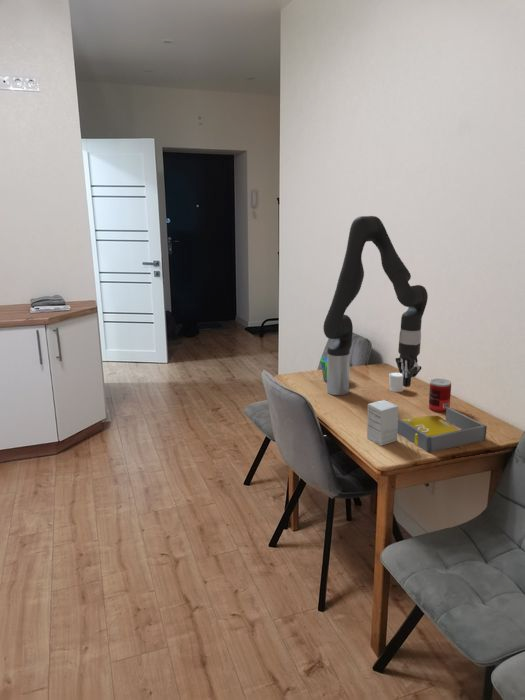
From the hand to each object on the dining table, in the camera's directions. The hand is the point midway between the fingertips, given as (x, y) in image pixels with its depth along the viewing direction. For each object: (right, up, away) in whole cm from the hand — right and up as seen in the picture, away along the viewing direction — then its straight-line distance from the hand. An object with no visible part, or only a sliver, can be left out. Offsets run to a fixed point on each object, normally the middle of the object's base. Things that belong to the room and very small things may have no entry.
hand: (406, 386), depth 192 cm
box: (+7, -16, -14) cm, 22 cm away
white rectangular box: (-13, -17, -16) cm, 27 cm away
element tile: (+4, -17, -14) cm, 22 cm away
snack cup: (-22, -1, +46) cm, 50 cm away
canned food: (+15, -10, +9) cm, 20 cm away
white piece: (+4, -4, +31) cm, 32 cm away
